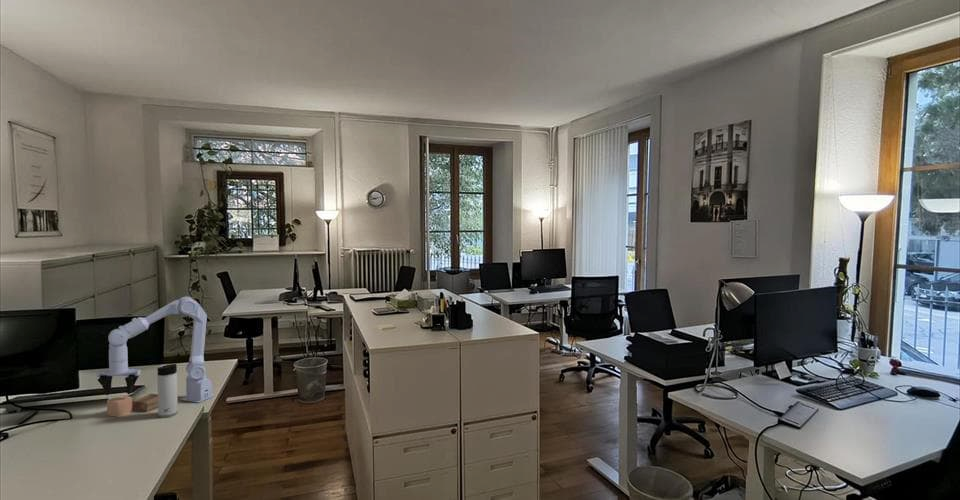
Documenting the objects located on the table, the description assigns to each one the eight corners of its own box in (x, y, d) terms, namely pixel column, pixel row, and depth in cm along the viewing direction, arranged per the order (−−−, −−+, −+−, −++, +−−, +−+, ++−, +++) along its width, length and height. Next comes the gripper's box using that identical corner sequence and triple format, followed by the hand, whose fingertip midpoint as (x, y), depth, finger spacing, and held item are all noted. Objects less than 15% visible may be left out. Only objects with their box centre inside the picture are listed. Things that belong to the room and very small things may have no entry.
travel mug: (168, 418, 173) (167, 368, 172) (154, 417, 174) (153, 366, 173) (182, 412, 179) (181, 363, 178) (168, 410, 181) (167, 361, 179)
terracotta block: (132, 411, 179) (131, 396, 179) (117, 417, 174) (117, 402, 174) (121, 409, 181) (121, 395, 180) (107, 415, 175) (106, 400, 175)
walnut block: (166, 405, 186) (165, 395, 186) (147, 412, 179) (146, 403, 179) (151, 402, 189) (151, 393, 188) (132, 410, 181) (131, 400, 181)
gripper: (144, 356, 181) (145, 389, 182) (104, 357, 179) (105, 390, 180) (134, 361, 174) (134, 395, 175) (92, 362, 172) (93, 397, 173)
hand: (119, 393), depth 177 cm, fingers open, 7 cm apart
